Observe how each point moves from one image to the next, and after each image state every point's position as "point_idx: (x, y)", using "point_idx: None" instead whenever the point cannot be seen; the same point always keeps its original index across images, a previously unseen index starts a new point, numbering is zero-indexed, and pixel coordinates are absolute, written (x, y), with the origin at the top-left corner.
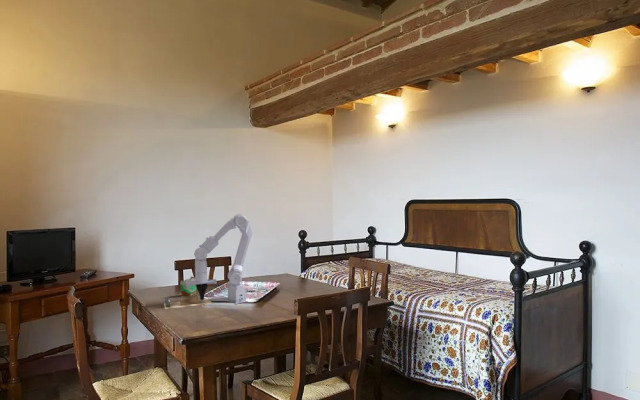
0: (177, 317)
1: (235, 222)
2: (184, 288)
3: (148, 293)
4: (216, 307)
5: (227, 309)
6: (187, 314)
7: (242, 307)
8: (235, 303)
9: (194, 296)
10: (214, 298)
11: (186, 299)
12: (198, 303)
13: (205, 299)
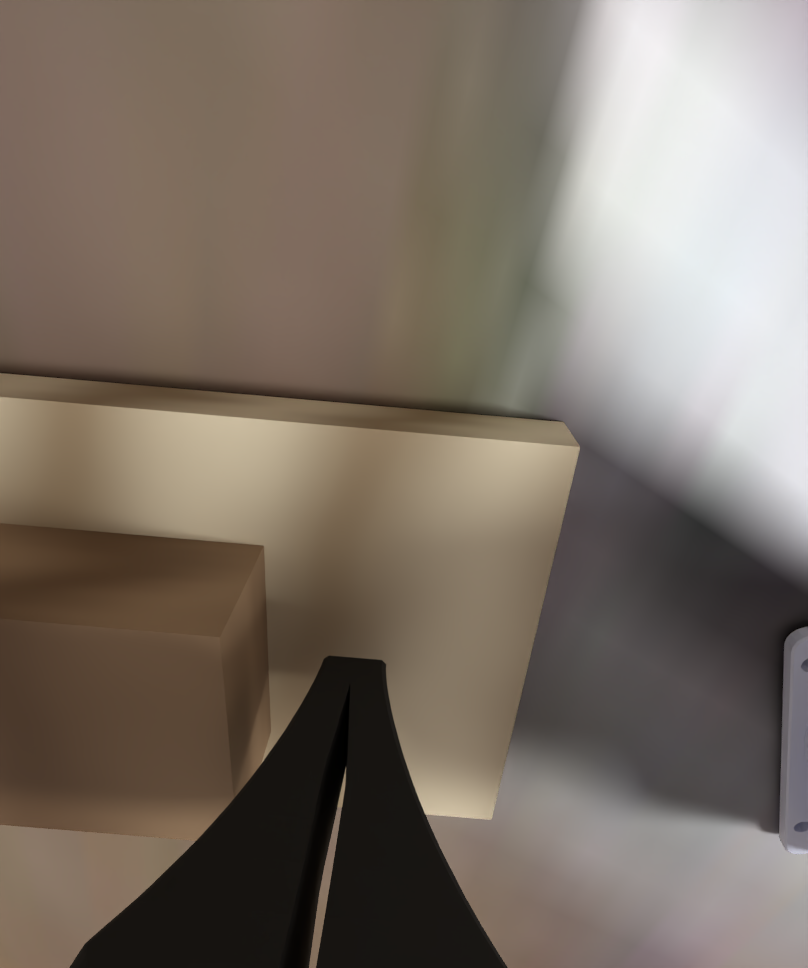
0: (25, 929)
1: None
2: None
3: None
4: (512, 828)
5: (589, 935)
6: (126, 897)
7: (773, 947)
8: (804, 852)
9: (162, 743)
10: (787, 215)
11: (3, 808)
12: (275, 727)
13: (464, 525)
